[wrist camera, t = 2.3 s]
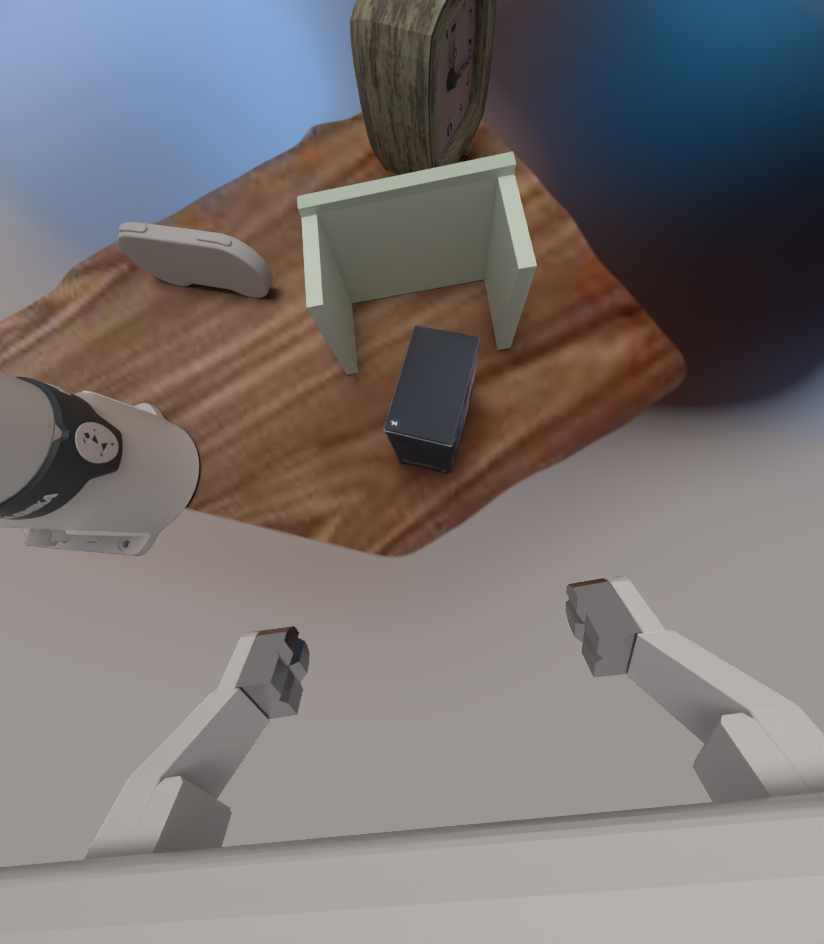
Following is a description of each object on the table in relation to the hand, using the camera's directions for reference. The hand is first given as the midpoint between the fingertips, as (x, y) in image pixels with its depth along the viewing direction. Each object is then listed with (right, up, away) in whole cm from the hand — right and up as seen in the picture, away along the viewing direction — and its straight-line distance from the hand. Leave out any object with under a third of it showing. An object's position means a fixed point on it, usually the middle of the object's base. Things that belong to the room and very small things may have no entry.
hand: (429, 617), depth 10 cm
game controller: (-27, +30, +37) cm, 55 cm away
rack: (+1, +23, +32) cm, 39 cm away
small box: (+2, +10, +29) cm, 31 cm away
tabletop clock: (+2, +45, +37) cm, 58 cm away
